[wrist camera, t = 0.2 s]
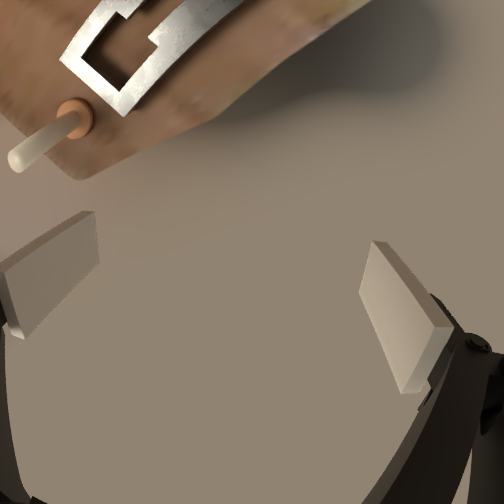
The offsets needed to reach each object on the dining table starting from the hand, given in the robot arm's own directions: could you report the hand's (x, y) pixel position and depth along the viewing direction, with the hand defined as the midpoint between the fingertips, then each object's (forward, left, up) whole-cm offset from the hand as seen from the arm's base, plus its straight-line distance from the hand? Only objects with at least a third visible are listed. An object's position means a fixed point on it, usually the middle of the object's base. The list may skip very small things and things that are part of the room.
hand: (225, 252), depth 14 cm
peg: (+20, -17, -28) cm, 38 cm away
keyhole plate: (+1, -17, -28) cm, 33 cm away
